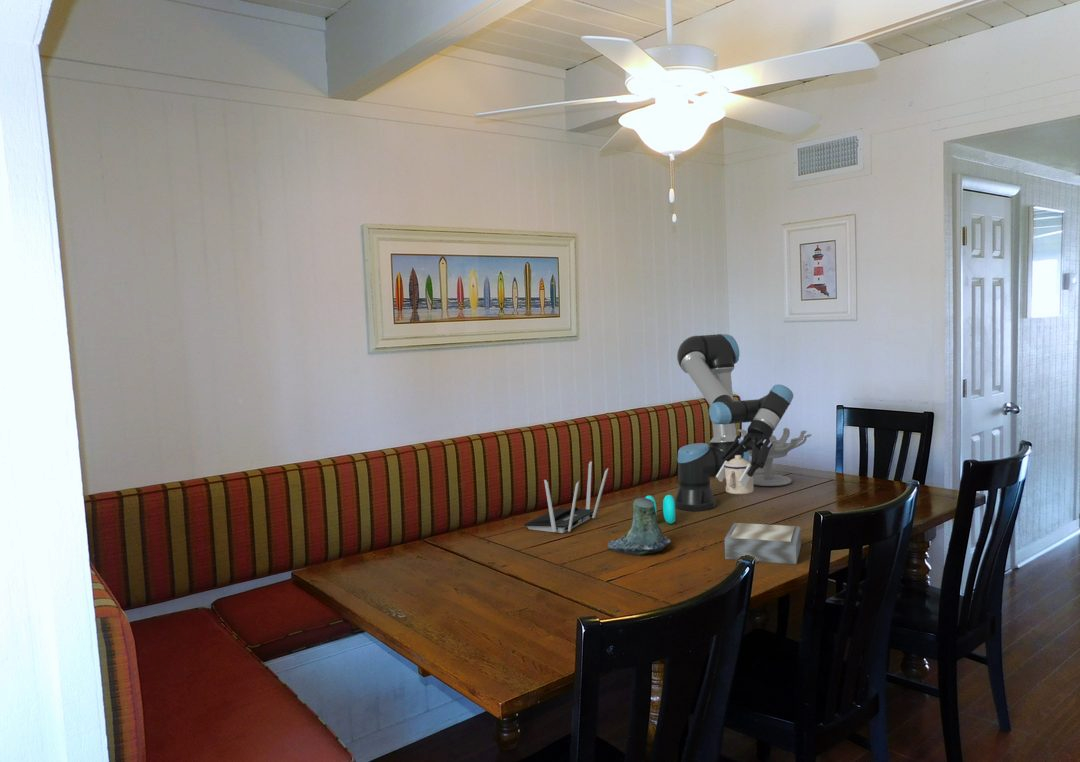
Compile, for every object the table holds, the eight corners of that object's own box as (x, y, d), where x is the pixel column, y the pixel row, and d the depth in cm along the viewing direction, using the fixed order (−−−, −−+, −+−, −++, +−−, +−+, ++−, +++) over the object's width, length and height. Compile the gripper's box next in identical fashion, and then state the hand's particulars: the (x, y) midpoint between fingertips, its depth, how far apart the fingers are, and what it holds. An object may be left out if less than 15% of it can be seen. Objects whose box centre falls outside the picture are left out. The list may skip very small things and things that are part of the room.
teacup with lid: (732, 487, 248) (731, 452, 248) (759, 489, 243) (757, 453, 242) (715, 494, 239) (714, 458, 238) (742, 497, 233) (741, 460, 233)
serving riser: (725, 558, 224) (724, 537, 223) (734, 541, 240) (733, 521, 240) (796, 564, 216) (795, 541, 216) (800, 545, 233) (800, 525, 232)
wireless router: (562, 511, 290) (560, 459, 288) (617, 516, 278) (615, 462, 276) (515, 534, 261) (512, 477, 260) (573, 541, 249) (571, 481, 248)
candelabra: (830, 486, 309) (828, 420, 307) (753, 495, 300) (751, 427, 298) (782, 471, 342) (780, 411, 340) (712, 479, 333) (710, 417, 331)
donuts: (676, 526, 261) (675, 498, 260) (647, 527, 261) (646, 499, 261) (673, 519, 271) (672, 491, 270) (644, 520, 271) (643, 492, 271)
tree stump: (650, 536, 253) (657, 484, 248) (680, 568, 234) (688, 513, 229) (597, 541, 247) (603, 488, 241) (624, 575, 228) (631, 518, 222)
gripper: (796, 435, 239) (763, 493, 232) (743, 430, 258) (711, 483, 250) (784, 421, 236) (750, 479, 229) (732, 416, 255) (699, 470, 247)
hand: (730, 481), depth 240 cm, fingers closed on teacup with lid, 9 cm apart
